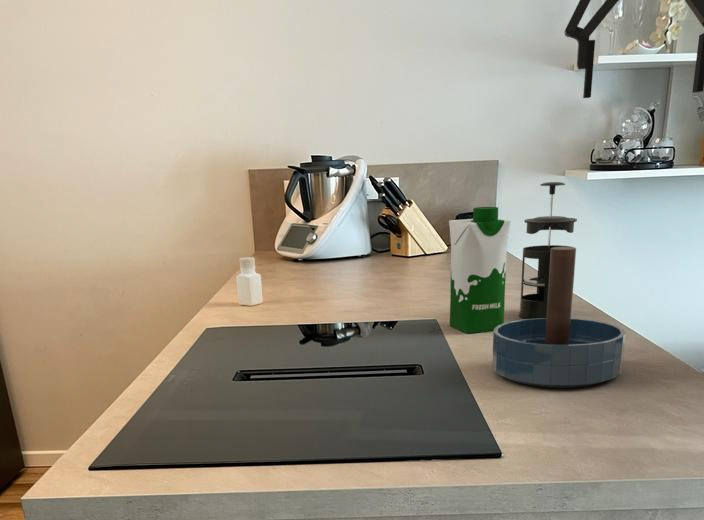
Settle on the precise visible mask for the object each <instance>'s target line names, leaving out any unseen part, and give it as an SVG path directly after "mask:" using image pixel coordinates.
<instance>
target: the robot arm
mask: <svg viewBox="0 0 704 520" xmlns="http://www.w3.org/2000/svg"><path fill="white" fill-rule="evenodd" d="M619 1H620V0H605V1H604V2H603V3H602V4H601V6H600V7H599V9H598V10H597V11H596V12H595V13H594V15H593V16H592V17H591V18H590V20H588V22H587V23H586V25H585V26H584V27H579V25H580V23H581V20H582V18H583V17H584V14H585V13H586V10H587V8H588V7H589V4H590V2H591V0H579V1H578V3H577V4H576V7H575V9H574V11H573V13H572V15H571V17H570V19H569V21H568V23H567V25H566V26H565V29H564V35H565V37H566V38H571V39H574V40H576V42H577V55H576V56H577V57H576V58H577V59H576V67H577V70H578V71H579V70H584V80H583V93H582V95H583V96H582V98H583V99H590V98H592V87H593V74H594V61H595V49H596V48H595V47H596V39H590V37H591V36H592V34H593V33H594V32H595V30H596V29H597V28H598V27H599V25H600V24H601V23H602V22H603V21H604V20H605V18H606V17H607V15H608V14H609V13H610V12H611V10H612V9H613V8H614V7H615V6H616V4H618V2H619ZM684 2H685V3H686V5H687V6H688V8H690V10H691V12H692V13H693V14H694V16H695V17H696V19H697V20H698V21H699V23H700V24H701V26H702V27H703V28H704V0H684ZM696 50H697V52H696V60H695V66H694V67H695V68H694V75H693V85H692V91H691V93H694V94H695V93H696V94H697V93H702V92H704V32H703V33H701V34H699V35H698V44H697V49H696Z"/></svg>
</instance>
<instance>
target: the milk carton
mask: <svg viewBox="0 0 704 520" xmlns="http://www.w3.org/2000/svg"><path fill="white" fill-rule="evenodd" d="M511 223H512V221H511V220H509V219H505V218H503V219H502V218H499V207H498V206H477V207H473V209H472V218H467V219H452V220H451V219H450V220H448V226H449V236H450V294H449V295H450V296H449V297H450V299H449V327H451V328H454V329H455V330H458V331H460V332H463V333H465V334H476V333H485V332H494V328H496V327H497V326H498V325H501V324H503V323H505V305H506V303H505V301H506V300H505V299H506V278H507V277H506V276H507V254H508V253H507V252H508V251H507V250H508V242H509V234H510V229H511Z"/></svg>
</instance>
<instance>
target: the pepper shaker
mask: <svg viewBox="0 0 704 520" xmlns="http://www.w3.org/2000/svg"><path fill="white" fill-rule="evenodd" d="M238 262H239V269H240V273H239V274H237V275H236V277H235V281H236V293H237V302H238V305H239V306H247V307H248V306H249V307H254V306H257V305H261V304H262V303H263V301H264V299H263V286H262V275H261V274H260V273H257V272H256V259H255V257H253V256H246V257H239V259H238Z"/></svg>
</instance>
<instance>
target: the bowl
mask: <svg viewBox="0 0 704 520" xmlns="http://www.w3.org/2000/svg"><path fill="white" fill-rule="evenodd" d="M545 332H546V318H531V319H524V318H522V319H516V320H512V321H507V322H504V323H503V324H501V325H498V326H497V327H496V328H494V331H493V334H492V335H493V336H492V337H493V338H492V341H493V342H492V363H491V369H492V371H493V372H495V374H497V375H499V376H501V377H503V378H505V379H509V380H510V381H513V382H516V383H518V384H522V385H527V386H531V387H532V386H533V387H539V388H551V389H571V388H572V389H573V388H582V387H583V388H584V387H588V386H589V387H590V386H595V385H597V384H600V383H603V382H605V381H606V382H607V381H611V380H613V379H614V378H616V377H619V376H620V374H621V373H622V372H623V364H624V363H623V362H624V352H625V344H626V343H625V342H626V334H627V333H626V331H625V329H624V328H622V327H620V326H618V325H616V324H613V323H610V322H605V321H600V320H595V319H588V318H587V319H586V318H576V317H571V324H570V337H569V345H557V344H545Z"/></svg>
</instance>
